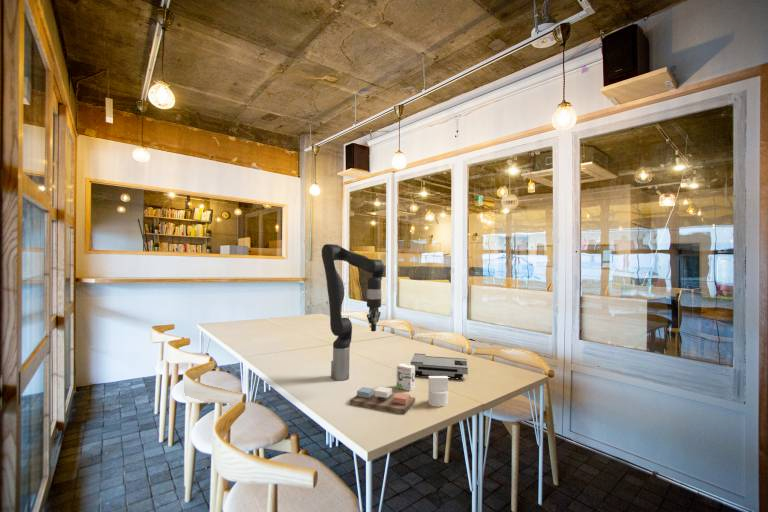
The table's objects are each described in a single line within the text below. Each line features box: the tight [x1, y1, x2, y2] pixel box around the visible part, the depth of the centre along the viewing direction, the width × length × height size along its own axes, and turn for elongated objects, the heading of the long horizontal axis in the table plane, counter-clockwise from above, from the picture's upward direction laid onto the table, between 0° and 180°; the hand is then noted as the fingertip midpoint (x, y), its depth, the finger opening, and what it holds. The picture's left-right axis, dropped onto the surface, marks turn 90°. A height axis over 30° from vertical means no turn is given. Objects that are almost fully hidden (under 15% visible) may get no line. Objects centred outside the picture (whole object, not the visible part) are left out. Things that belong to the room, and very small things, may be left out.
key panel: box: [350, 390, 416, 415], centre depth 165 cm, size 26×15×4 cm, turn 68°
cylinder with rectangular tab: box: [427, 376, 449, 407], centre depth 167 cm, size 9×9×12 cm
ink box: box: [396, 362, 416, 392], centre depth 185 cm, size 9×5×12 cm, turn 58°
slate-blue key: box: [356, 386, 375, 398], centre depth 169 cm, size 6×6×2 cm
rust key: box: [393, 392, 411, 405], centre depth 162 cm, size 6×6×2 cm
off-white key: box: [374, 386, 393, 398], centre depth 165 cm, size 6×6×2 cm
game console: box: [410, 352, 469, 379], centre depth 213 cm, size 21×32×8 cm, turn 79°
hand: (373, 331), depth 186 cm, fingers closed
